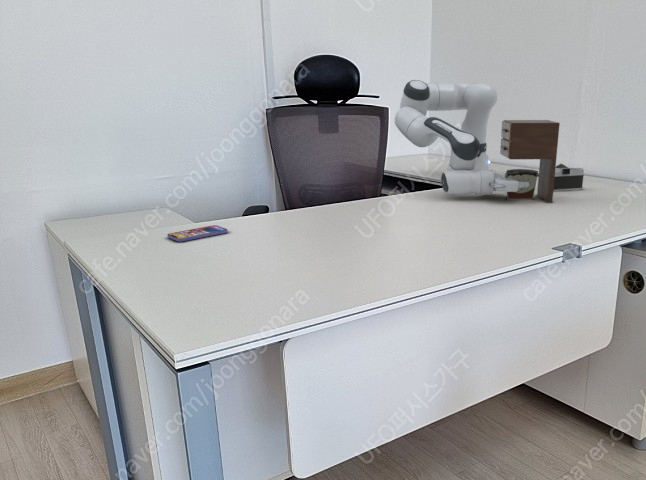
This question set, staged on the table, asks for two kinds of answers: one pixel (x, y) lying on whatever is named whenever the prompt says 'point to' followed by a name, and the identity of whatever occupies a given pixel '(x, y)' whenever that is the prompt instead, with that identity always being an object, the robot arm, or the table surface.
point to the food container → (522, 176)
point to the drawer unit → (533, 148)
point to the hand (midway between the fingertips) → (525, 181)
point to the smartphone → (197, 233)
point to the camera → (568, 178)
